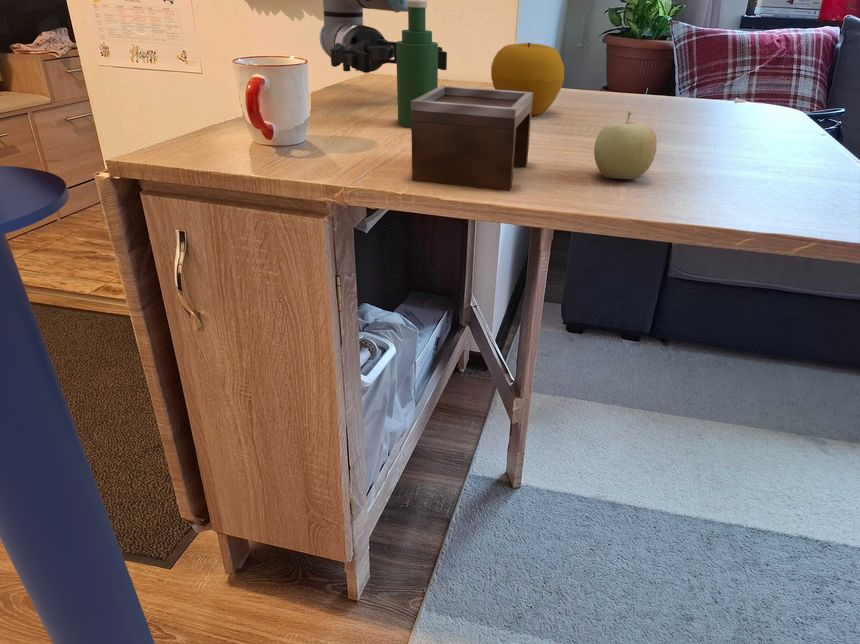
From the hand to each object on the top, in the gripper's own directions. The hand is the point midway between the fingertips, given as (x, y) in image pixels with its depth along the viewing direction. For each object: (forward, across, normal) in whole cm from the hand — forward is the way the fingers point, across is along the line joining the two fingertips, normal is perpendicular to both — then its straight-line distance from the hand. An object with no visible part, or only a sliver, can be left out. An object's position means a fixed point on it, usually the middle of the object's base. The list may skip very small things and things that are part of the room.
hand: (407, 62), depth 101 cm
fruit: (+42, -11, -9) cm, 44 cm away
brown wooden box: (+33, +5, -9) cm, 34 cm away
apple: (+1, -22, -9) cm, 24 cm away
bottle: (+4, 0, -9) cm, 10 cm away
